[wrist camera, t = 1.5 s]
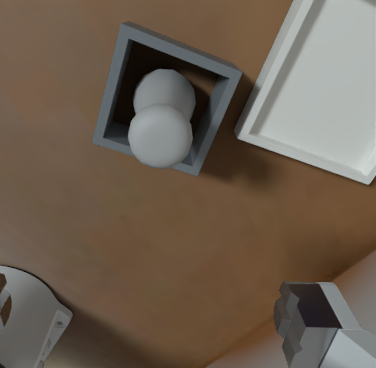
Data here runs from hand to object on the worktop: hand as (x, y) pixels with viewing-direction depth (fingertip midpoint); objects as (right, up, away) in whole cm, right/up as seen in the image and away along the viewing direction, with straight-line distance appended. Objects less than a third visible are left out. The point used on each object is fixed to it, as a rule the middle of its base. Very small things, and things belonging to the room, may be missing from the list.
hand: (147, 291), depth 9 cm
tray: (+16, +13, +22) cm, 31 cm away
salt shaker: (-1, +12, +22) cm, 25 cm away
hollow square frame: (-1, +12, +22) cm, 25 cm away
